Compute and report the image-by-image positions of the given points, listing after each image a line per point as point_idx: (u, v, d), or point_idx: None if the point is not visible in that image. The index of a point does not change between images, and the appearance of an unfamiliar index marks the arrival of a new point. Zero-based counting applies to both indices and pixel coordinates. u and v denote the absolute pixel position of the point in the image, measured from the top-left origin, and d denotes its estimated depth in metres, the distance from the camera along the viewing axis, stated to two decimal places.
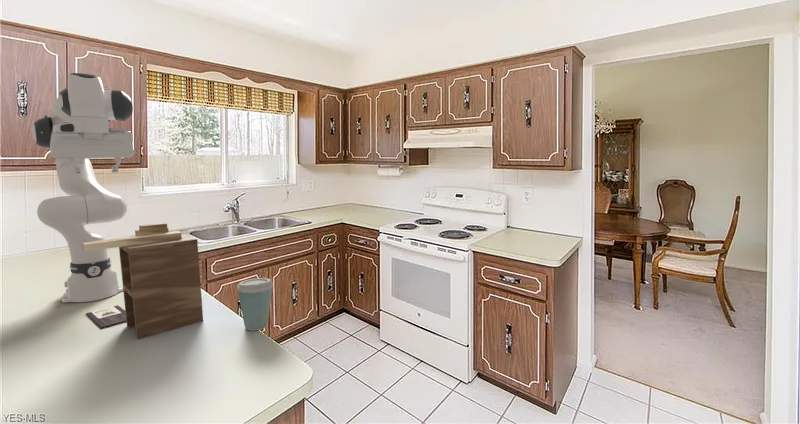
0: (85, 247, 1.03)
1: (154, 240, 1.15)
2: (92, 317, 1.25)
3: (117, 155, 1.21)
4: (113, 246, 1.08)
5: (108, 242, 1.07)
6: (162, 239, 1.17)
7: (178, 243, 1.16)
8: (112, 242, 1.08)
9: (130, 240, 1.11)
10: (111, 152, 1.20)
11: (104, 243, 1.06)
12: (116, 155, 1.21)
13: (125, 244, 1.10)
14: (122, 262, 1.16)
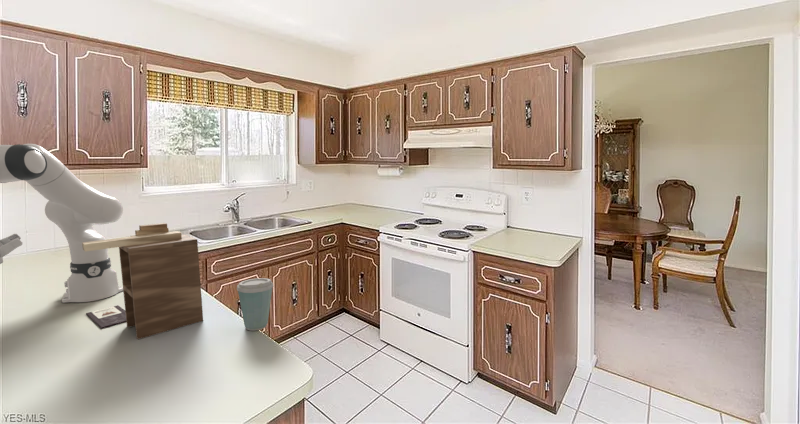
0: (85, 247, 1.03)
1: (154, 240, 1.15)
2: (92, 317, 1.25)
3: None
4: (113, 246, 1.08)
5: (108, 242, 1.07)
6: (162, 239, 1.17)
7: (178, 243, 1.16)
8: (112, 242, 1.08)
9: (130, 240, 1.11)
10: None
11: (104, 243, 1.06)
12: None
13: (125, 244, 1.10)
14: (122, 262, 1.16)
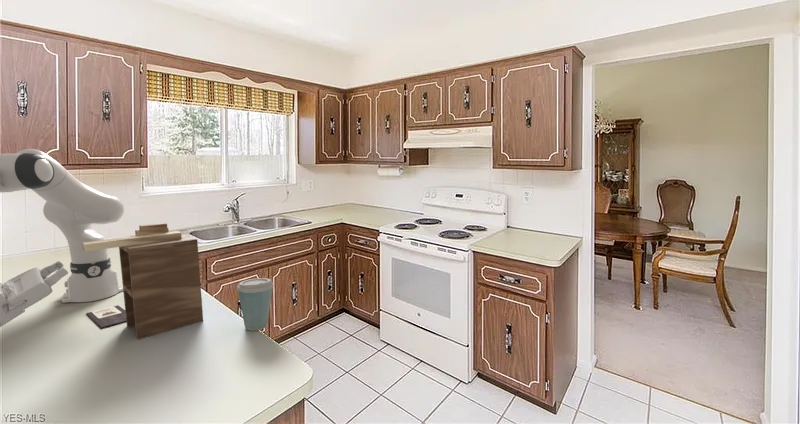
0: (85, 247, 1.03)
1: (154, 240, 1.15)
2: (92, 317, 1.25)
3: None
4: (113, 246, 1.08)
5: (108, 242, 1.07)
6: (162, 239, 1.17)
7: (178, 243, 1.16)
8: (112, 242, 1.08)
9: (130, 240, 1.11)
10: None
11: (104, 243, 1.06)
12: None
13: (125, 244, 1.10)
14: (122, 262, 1.16)
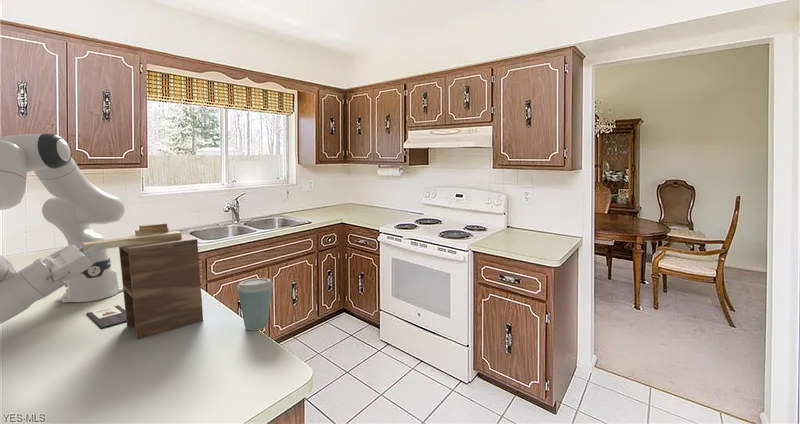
0: (85, 247, 1.03)
1: (154, 240, 1.15)
2: (92, 317, 1.25)
3: None
4: (113, 246, 1.08)
5: (108, 242, 1.07)
6: (162, 239, 1.17)
7: (178, 243, 1.16)
8: (112, 242, 1.08)
9: (130, 240, 1.11)
10: None
11: (104, 243, 1.06)
12: None
13: (125, 244, 1.10)
14: (122, 262, 1.16)
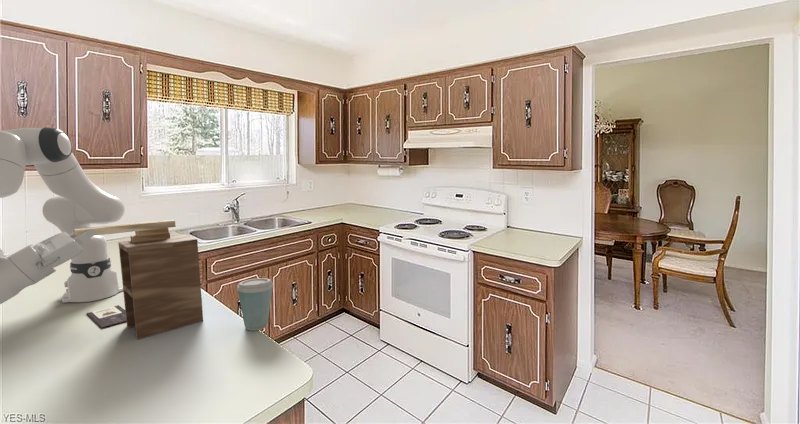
0: (76, 233, 1.02)
1: (147, 228, 1.13)
2: (93, 317, 1.25)
3: None
4: (105, 233, 1.06)
5: (100, 229, 1.05)
6: (155, 227, 1.15)
7: (178, 243, 1.16)
8: (104, 229, 1.06)
9: (123, 227, 1.09)
10: None
11: (96, 229, 1.05)
12: None
13: (117, 231, 1.08)
14: (122, 262, 1.16)
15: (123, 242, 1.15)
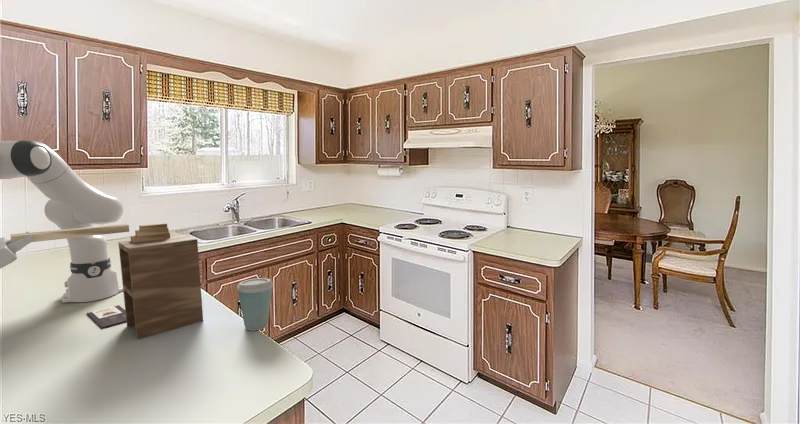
0: (12, 239, 0.93)
1: (96, 233, 1.05)
2: (93, 317, 1.25)
3: None
4: (46, 239, 0.97)
5: (40, 234, 0.96)
6: (106, 232, 1.06)
7: (178, 243, 1.16)
8: (45, 234, 0.97)
9: (67, 232, 1.00)
10: None
11: (35, 235, 0.96)
12: None
13: (61, 237, 0.99)
14: (122, 262, 1.16)
15: (123, 242, 1.15)
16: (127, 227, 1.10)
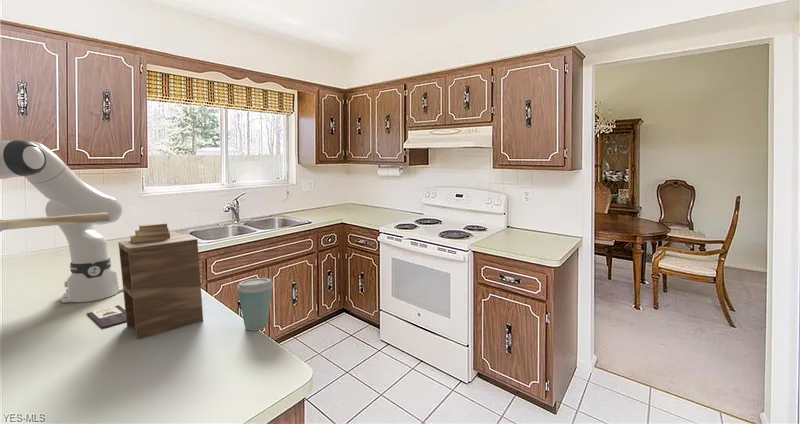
0: None
1: (74, 221, 1.01)
2: (93, 317, 1.25)
3: None
4: (20, 226, 0.94)
5: (14, 222, 0.93)
6: (84, 220, 1.03)
7: (178, 243, 1.16)
8: (19, 222, 0.94)
9: (43, 220, 0.97)
10: None
11: (9, 223, 0.92)
12: None
13: (36, 225, 0.96)
14: (122, 262, 1.16)
15: (123, 242, 1.15)
16: (107, 216, 1.06)
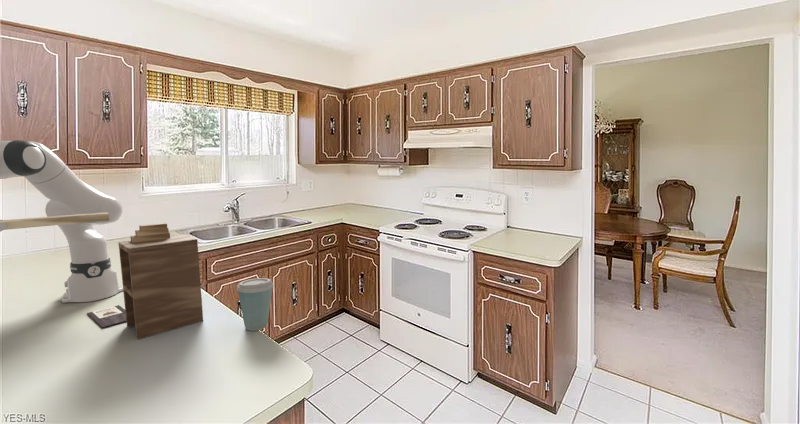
0: None
1: (74, 221, 1.01)
2: (93, 317, 1.25)
3: None
4: (20, 226, 0.94)
5: (14, 222, 0.93)
6: (84, 220, 1.03)
7: (178, 243, 1.16)
8: (19, 222, 0.94)
9: (43, 220, 0.97)
10: None
11: (9, 223, 0.92)
12: None
13: (36, 225, 0.96)
14: (122, 262, 1.16)
15: (123, 242, 1.15)
16: (107, 216, 1.06)
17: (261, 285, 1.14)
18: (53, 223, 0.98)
